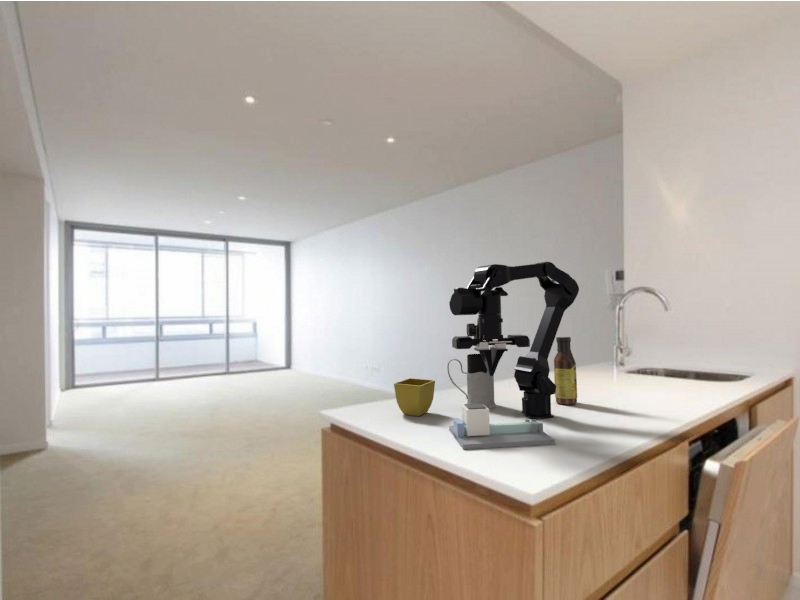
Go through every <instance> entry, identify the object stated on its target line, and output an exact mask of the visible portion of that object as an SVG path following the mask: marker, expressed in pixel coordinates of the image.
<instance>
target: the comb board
mask: <svg viewBox="0 0 800 600" xmlns="http://www.w3.org/2000/svg"><path fill="white" fill-rule="evenodd" d="M452 421H453V425H449V426H448V430H449V432H450V433H451V435H452V436H453V438H454V439H455V440H456V442H457V443H458V444H459V445H460V447H461V448H462V449H463V450H475V449H476V450H479V449H492V448H509V447H511V448H512V447H529V446H531V447H532V446H547V445H548V446H549V445H556V439H555V438H553V436H551V435H549V434H548V433H546V432H545V431H544V423H542V422H539V421H537V418H531V420H530V419H524V421H520V422H519V421H518V422H517V421H515V422H504V423H503V422H502V423H501V422H498V423H489V426H490V435H479V436H467V435H466V424H465V425H464V423H463V422H462V418H453V419H452Z"/></svg>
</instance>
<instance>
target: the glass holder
mask: <svg viewBox="0 0 800 600" xmlns="http://www.w3.org/2000/svg"><path fill="white" fill-rule="evenodd" d="M453 361H457V362H458V364H459V365H460V371H461V373H462V374H465V375H466V385H467V387H466V389H467V392H465V391H464V390H463V389H462V388H460V387H459V386H458V385H457V383H455V382H454V380H453V378H452V376H451V373H450V368H449V367H450V364H451V362H453ZM466 361H467V366H466V367H467V371H466V372H465V371H463V370H464V369H463V363H462V362H461V361H460V360H459V359H458V358H452V359H449V361H448V363H447V373H448V377H449V379H450V381H451V383H452V384H453V386H455V387H456V388H457V389H458V390H459V391H461V392H462V394H464V396H466V397H465V398H466V401H467V402H466V404H477V403H481V404H483V405H484V406H486V407H487V408H488V409H489V410H490V409H493V408H496V407H497V405H496V402H495V379H494V378H495V377H494V375H495V374H494V375H493V376H489V374H488V371H487V368H486V365H485V362H484V360H483V358H482V356H481V354H480V353H471V354H467V356H466Z"/></svg>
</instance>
